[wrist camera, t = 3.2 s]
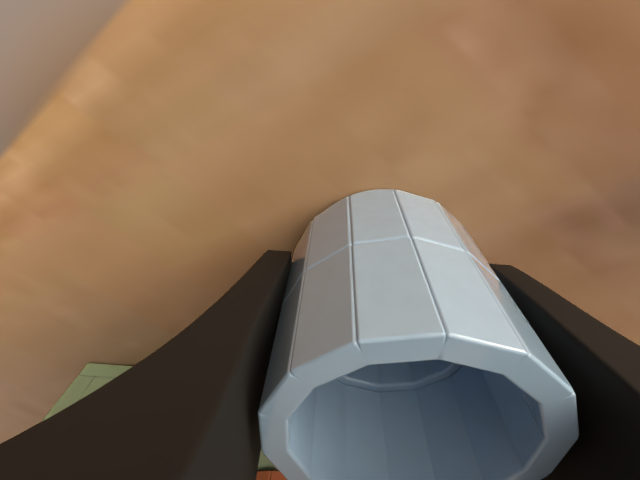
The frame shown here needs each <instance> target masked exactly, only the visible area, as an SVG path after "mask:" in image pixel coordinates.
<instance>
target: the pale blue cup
mask: <svg viewBox="0 0 640 480" xmlns="http://www.w3.org/2000/svg"><path fill="white" fill-rule="evenodd" d="M258 422H259V433H260V444H261V450H262V451H263V454H264V455H265V456H266V457H267V458H268V460H269V461H270V462H271V463H272V464H273V465H274V466H275V467H276V468H277V469H278V470H279V472H280V473H281V474H282V475H283V476H284V477H285V478H286V479H287V480H541V479H543V478H545V477H547V476H548V475H549V474H551V473H552V472H553V471H554V469H555V468H556V467H557V466H558V464H559V463H560V462H561V460H562V459H563V458H564V457H565V455H566V454H567V453H568V452H569V450H570V449H571V448H572V446H573V445H574V444H575V443H576V441H577V440H578V436H579V427H578V415H577V404H576V394H575V392H574V390H573V388H572V386H571V385H570V383H569V382H568V380H567V379H566V377H565V376H564V374H563V373H562V372H561V370H560V369H559V367H558V366H557V364H556V363H555V361H554V360H553V358H552V357H551V355H550V354H549V352H548V351H547V349H546V348H545V346H544V345H543V343H542V342H541V340H540V339H539V337H538V336H537V334H536V333H535V331H534V330H533V329H532V327H531V326H530V324H529V323H528V321H527V320H526V318H525V317H524V315H523V314H522V312H521V311H520V309H519V308H518V306H517V305H516V303H515V302H514V300H513V299H512V297H511V296H510V294H509V293H508V291H507V290H506V288H505V287H504V286H503V284H502V283H501V282H500V280H499V278H498V277H497V276H496V274H495V273H494V271H493V270H492V268H491V267H490V265H489V264H488V262H487V261H486V259H485V258H484V256H483V255H482V253H481V252H480V250H479V249H478V247H477V246H476V244H475V243H474V241H473V240H472V238H471V237H470V235H469V234H468V232H467V231H466V229H465V228H464V227H463V225H462V224H461V223H460V222H458V221H457V220H456V219H455V218H454V217H453V216H452V215H451V214H450V213H449V212H448V211H447V210H446V209H445V208H444V207H443V206H442V205H441V204H440V203H438V202H436V201H434V200H432V199H429V198H425V197H422V196H418V195H414V194H411V193H408V192H404V191H400V190H393V189H376V190H368V191H364V192H360V193H356V194H353V195H350V196H347V197H345V198H343V199H341V200H340V201H338V202H336V203H334V204H333V205H332V206H330V207H329V208H327V209H326V210H325V211H323V212H322V213H320V214H318V215H317V216H315V217H314V219H313V220H312V221H311V222H310V223H309V225H308V227H307V229H306V230H305V232H304V234H303V235H302V237H301V239H300V240H299V242H298V244H297V245H296V247H295V250H294V253H293V257H292V262H291V268H290V273H289V277H288V282H287V286H286V291H285V295H284V298H283V302H282V306H281V311H280V315H279V320H278V324H277V329H276V333H275V338H274V342H273V347H272V351H271V356H270V360H269V365H268V369H267V373H266V378H265V382H264V387H263V391H262V396H261V400H260V405H259V409H258Z"/></svg>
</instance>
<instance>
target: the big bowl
mask: <svg viewBox="0 0 640 480" xmlns="http://www.w3.org/2000/svg"><path fill="white" fill-rule="evenodd" d="M256 480H287V479H286V478H285V477H284V476H283V475H282V474H281V473H280V472H279V471H270V470H267V471H257V475H256Z"/></svg>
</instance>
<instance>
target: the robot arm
mask: <svg viewBox="0 0 640 480" xmlns="http://www.w3.org/2000/svg"><path fill="white" fill-rule="evenodd" d="M489 265H490V267H491V268H492V270H493V271H494V273H495V274H496V276H497V277H498V278H499V280H500V282H501V283H502V284H503V286H504V287H505V288H506V290H507V291H508V293H509V294H510V296H511V297H512V299H513V300H514V302H515V303H516V305H517V306H518V308H519V309H520V311H521V312H522V314H523V315H524V317H525V318H526V320H527V321H528V323H529V324H530V326H531V327H532V329H533V330H534V331H535V333H536V334H537V336H538V337H539V339H540V340H541V342H542V343H543V345H544V346H545V348H546V349H547V351H548V352H549V354H550V355H551V357H552V358H553V360H554V361H555V363H556V364H557V366H558V367H559V369H560V370H561V372H562V373H563V374H564V376H565V377H566V379H567V380H568V382H569V383H570V385H571V386H572V388H573V390H574V392H575V394H576V404H577V415H578V427H579V436H578V440H577V441H576V443H575V444H574V445H573V446H572V448H571V449H570V450H569V452H568V453H567V454H566V455H565V457H564V458H563V459H562V460H561V462H560V463H559V464H558V466H557V467H556V468H555V469H554V471H553V472H552V473H551V474H549V475H548V476H547V477H545V478H543V479H541V480H640V346H639V345H637V344H635V343H634V342H632V341H630V340H629V339H627V338H625V337H624V336H622V335H620V334H619V333H617V332H616V331H614V330H612V329H611V328H609V327H608V326H606V325H604V324H603V323H601V322H600V321H598V320H597V319H595V318H593V317H592V316H590V315H589V314H587V313H586V312H584V311H583V310H581V309H580V308H578V307H576V306H575V305H573V304H572V303H570V302H569V301H567V300H566V299H564V298H563V297H561V296H560V295H558V294H557V293H555V292H554V291H552V290H551V289H549V288H547V287H546V286H544V285H543V284H541V283H540V282H538V281H537V280H535V279H533V278H532V277H530V276H529V275H527V274H525V273H524V272H522V271H520V270H518V269H517V268H515V267H513V266H511V265H496V264H489ZM290 268H291V252H290V251H274V250H268V251H267V252H266V253H264V254H263V256H262V257H261V258H260V259H259V260H258V261H257V262H256V263H255V264H254V265H253V266H252V267H251V268H250V269H249V271H248V272H247V273H246V274H245V275H244V276H243V277H242V278H241V279H240V280H239V281H238V282H237V283H236V284H235V285H234V286H233V287H232V288H231V289H230V290H229V291H227V292H226V293H225V294H224V295H223V296H222V297H221V298H220V299H219V300H218V301H217V302H216V303H215V304H213V305H212V306H211V307H210V308H209V309H208V310H207V311H205V312H204V313H203V314H202V315H201V316H200V317H199V318H197V319H196V320H195V321H194V322H193V323H192V324H190V325H189V326H188V327H187V328H185V329H184V330H183V331H182V332H180V333H179V334H178V335H177V336H175V337H174V338H173V339H171V340H170V341H169V342H167V343H166V344H165V345H163V346H162V347H161V348H159V349H158V350H157V351H155V352H154V353H152V354H151V355H150V356H148V357H147V358H145V359H144V360H142V361H141V362H139V363H138V364H136V365H134V366H133V367H131V368H130V369H128V370H127V371H125V372H124V373H122V374H120V375H119V376H117V377H116V378H114V379H113V380H111V381H110V382H108V383H106V384H105V385H103V386H102V387H100V388H99V389H97V390H96V391H94V392H92V393H91V394H89V395H87V396H86V397H84V398H82V399H80V400H79V401H77V402H75V403H74V404H72V405H70V406H68V407H67V408H65V409H63V410H62V411H60V412H58V413H56V414H55V415H53V416H51V417H49V418H47V419H46V420H44V421H42V422H40V423H38V424H37V425H35V426H33V427H31V428H29V429H28V430H26V431H24V432H22V433H20V434H19V435H17V436H15V437H13V438H11V439H9V440H7V441H5V442H4V443H2V444H0V480H256V475H257V469H258V463H259V458H260V452H261V444H260V433H259V422H258V409H259V405H260V400H261V396H262V391H263V387H264V382H265V378H266V373H267V369H268V365H269V360H270V356H271V351H272V347H273V342H274V338H275V333H276V329H277V324H278V320H279V315H280V311H281V306H282V302H283V298H284V295H285V291H286V286H287V282H288V277H289V273H290Z"/></svg>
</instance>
